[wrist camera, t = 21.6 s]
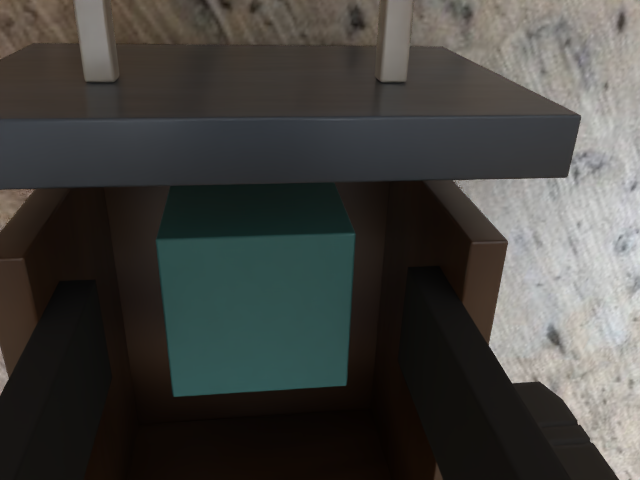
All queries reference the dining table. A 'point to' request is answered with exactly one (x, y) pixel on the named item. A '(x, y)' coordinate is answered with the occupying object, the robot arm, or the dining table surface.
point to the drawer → (258, 168)
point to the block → (256, 287)
